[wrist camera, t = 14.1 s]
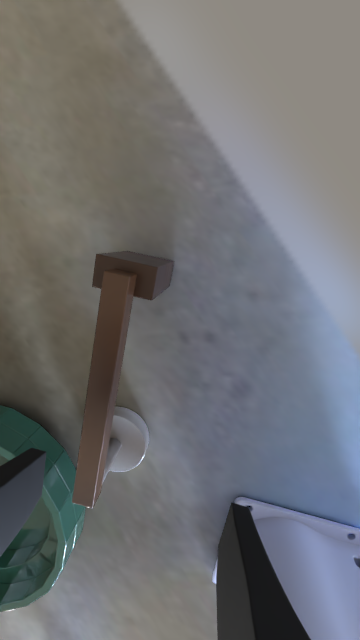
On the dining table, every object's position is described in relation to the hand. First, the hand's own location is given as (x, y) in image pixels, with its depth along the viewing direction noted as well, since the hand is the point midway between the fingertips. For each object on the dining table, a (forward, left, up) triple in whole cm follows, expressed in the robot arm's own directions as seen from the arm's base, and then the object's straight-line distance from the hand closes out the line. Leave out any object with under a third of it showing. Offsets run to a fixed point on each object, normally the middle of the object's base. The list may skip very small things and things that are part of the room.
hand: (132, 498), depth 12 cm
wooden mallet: (+3, 0, -10) cm, 10 cm away
